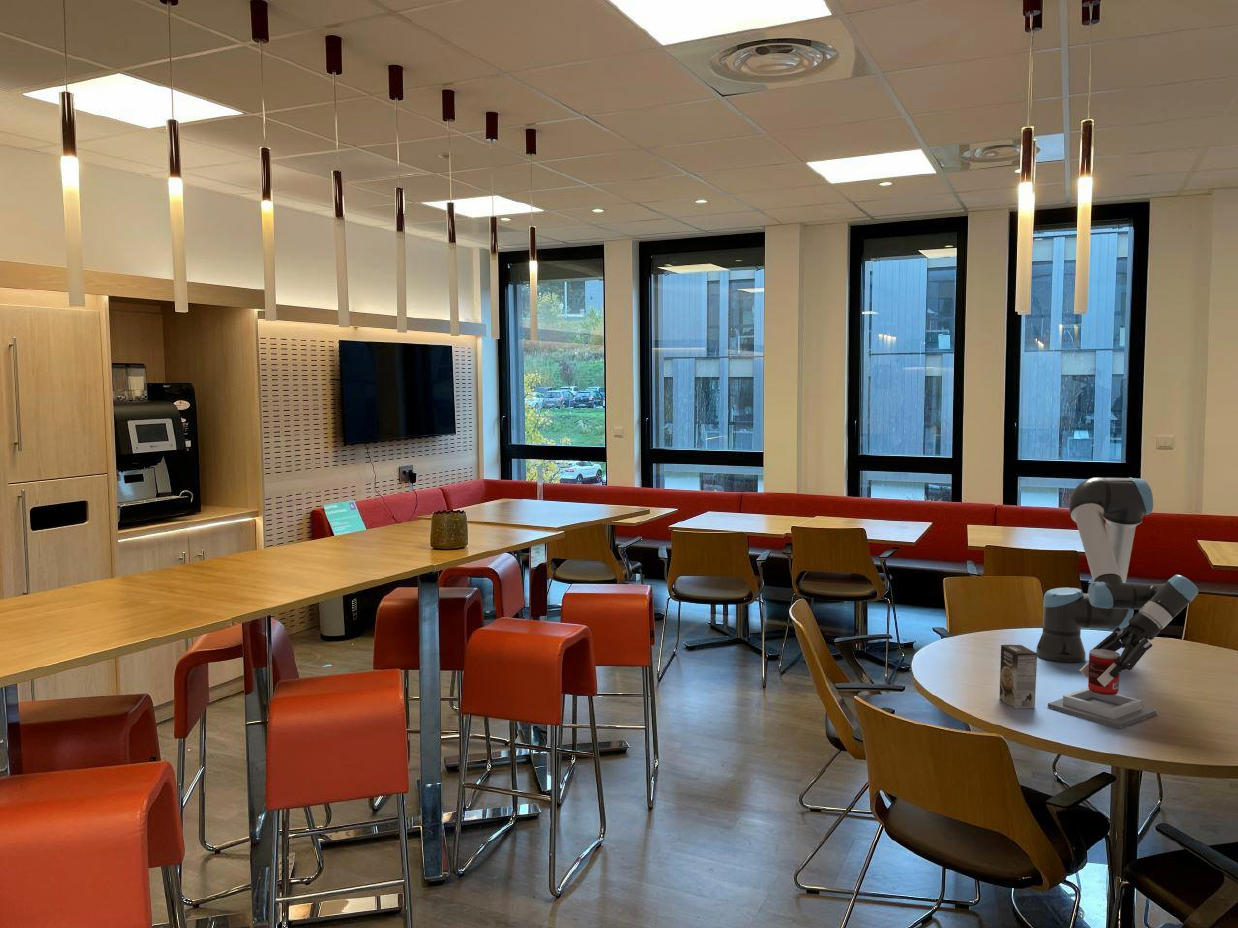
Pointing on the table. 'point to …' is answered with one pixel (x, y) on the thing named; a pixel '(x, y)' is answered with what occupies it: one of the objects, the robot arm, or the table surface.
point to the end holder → (1103, 708)
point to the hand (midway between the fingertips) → (1091, 678)
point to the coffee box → (1018, 676)
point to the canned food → (1102, 671)
